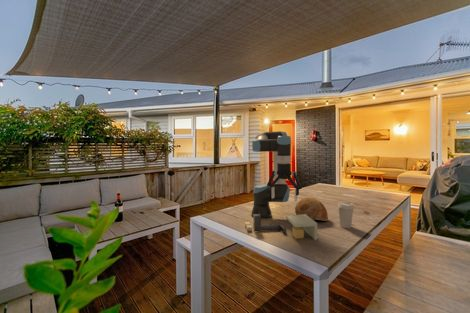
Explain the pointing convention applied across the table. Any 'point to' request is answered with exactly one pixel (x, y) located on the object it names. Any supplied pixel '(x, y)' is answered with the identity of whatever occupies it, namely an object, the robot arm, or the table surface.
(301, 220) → the beige angled piece
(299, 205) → the seashell
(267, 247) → the table surface
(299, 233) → the cube
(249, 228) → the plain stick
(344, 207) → the coffee cup
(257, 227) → the crook
